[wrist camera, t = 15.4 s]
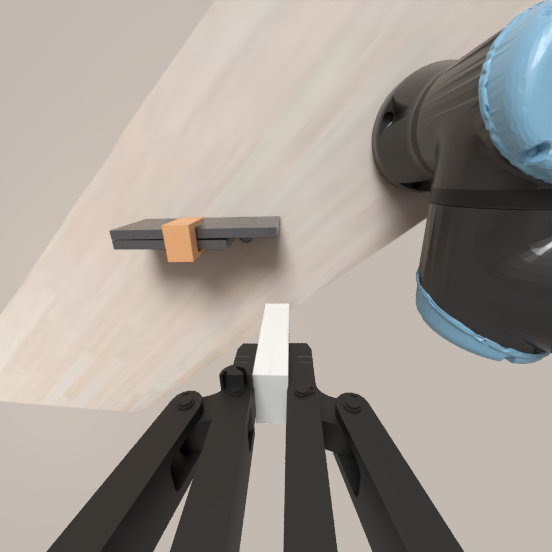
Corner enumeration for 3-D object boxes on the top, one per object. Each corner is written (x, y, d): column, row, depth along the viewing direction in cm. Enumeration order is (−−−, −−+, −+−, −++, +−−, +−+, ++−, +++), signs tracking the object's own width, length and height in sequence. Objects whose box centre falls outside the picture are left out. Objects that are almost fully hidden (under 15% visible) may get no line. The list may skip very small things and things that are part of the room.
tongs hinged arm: (238, 227, 42) (226, 240, 34) (239, 234, 42) (226, 249, 34) (146, 227, 42) (112, 240, 34) (147, 235, 43) (114, 249, 35)
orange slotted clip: (203, 217, 36) (188, 225, 31) (207, 248, 38) (193, 261, 32) (181, 217, 37) (161, 225, 31) (186, 249, 38) (168, 262, 33)
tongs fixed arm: (279, 216, 41) (276, 227, 33) (280, 236, 42) (277, 251, 34) (145, 219, 42) (109, 230, 34) (149, 238, 43) (115, 253, 35)
